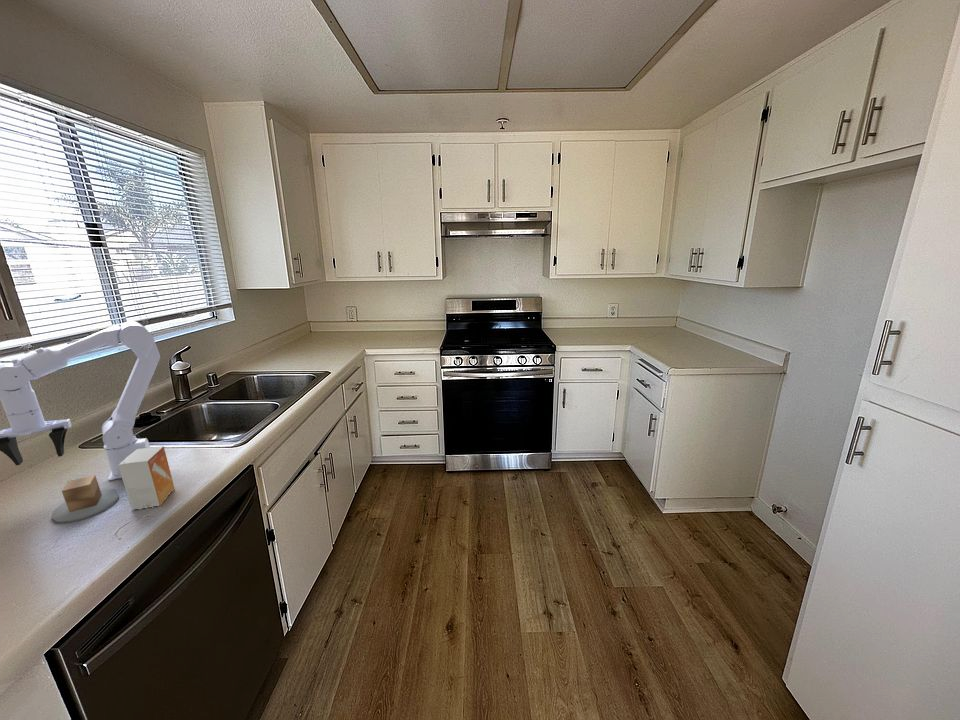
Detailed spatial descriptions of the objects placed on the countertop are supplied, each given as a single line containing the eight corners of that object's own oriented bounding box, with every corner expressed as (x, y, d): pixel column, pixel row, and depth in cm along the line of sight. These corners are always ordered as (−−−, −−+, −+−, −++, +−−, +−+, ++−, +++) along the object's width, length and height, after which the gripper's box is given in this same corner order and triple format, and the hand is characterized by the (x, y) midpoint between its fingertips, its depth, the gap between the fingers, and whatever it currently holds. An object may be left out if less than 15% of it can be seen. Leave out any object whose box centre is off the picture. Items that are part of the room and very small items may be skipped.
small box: (160, 506, 99) (147, 461, 95) (131, 511, 97) (116, 464, 94) (175, 488, 107) (164, 445, 103) (148, 492, 105) (135, 448, 101)
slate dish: (122, 487, 107) (121, 484, 107) (113, 510, 98) (112, 507, 98) (61, 502, 101) (60, 499, 101) (45, 529, 92) (44, 525, 91)
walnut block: (101, 495, 103) (95, 474, 101) (96, 505, 98) (89, 484, 97) (75, 501, 100) (68, 481, 98) (69, 512, 96) (61, 491, 94)
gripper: (-29, 423, 92) (-8, 474, 95) (58, 409, 99) (74, 457, 103) (-15, 413, 97) (5, 462, 101) (67, 400, 105) (82, 446, 109)
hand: (40, 459), depth 102 cm, fingers open, 7 cm apart
